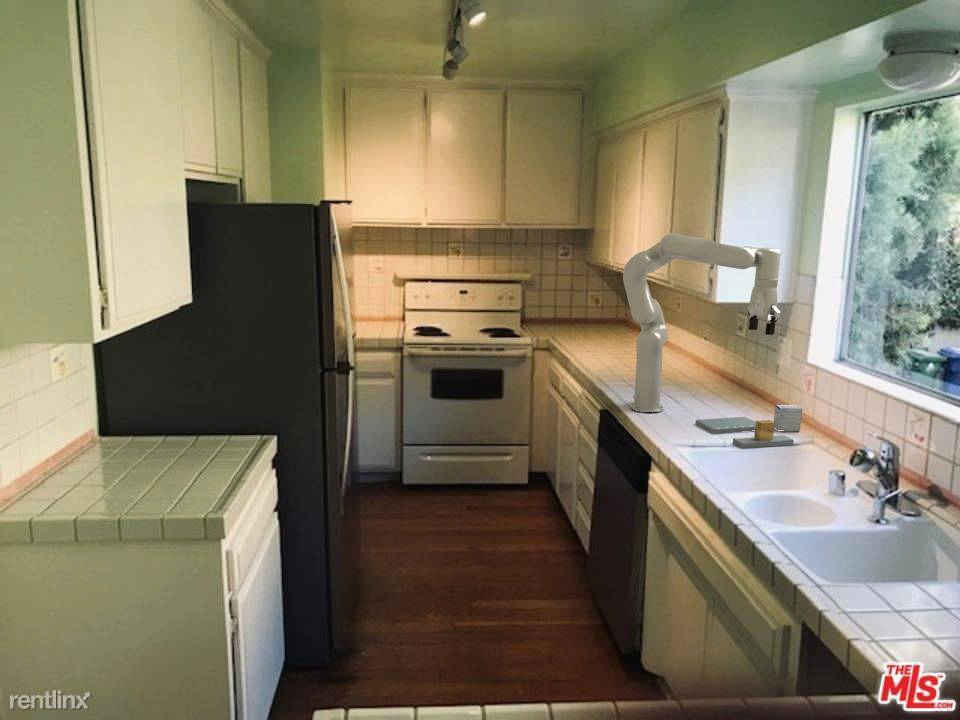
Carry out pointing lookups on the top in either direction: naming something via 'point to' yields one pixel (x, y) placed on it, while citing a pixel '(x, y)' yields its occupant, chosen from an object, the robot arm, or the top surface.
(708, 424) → the board
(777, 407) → the medicine box
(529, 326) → the top surface
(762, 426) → the grey-blue slab
